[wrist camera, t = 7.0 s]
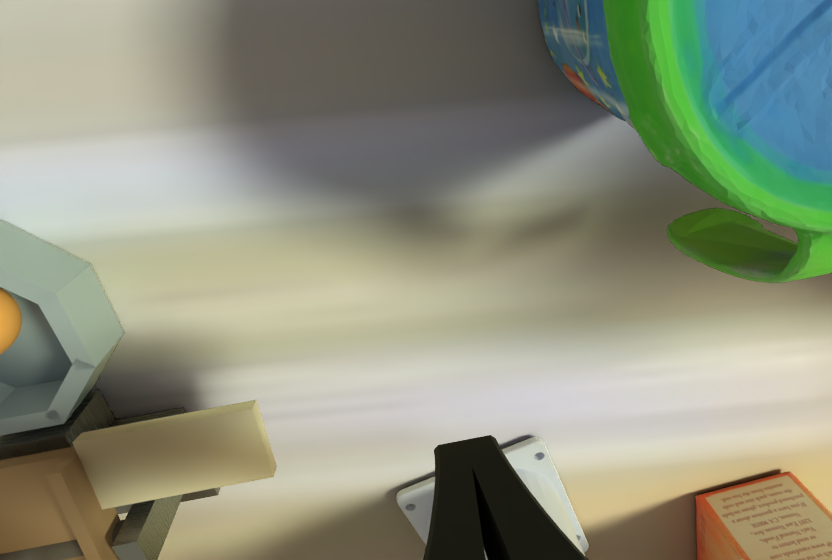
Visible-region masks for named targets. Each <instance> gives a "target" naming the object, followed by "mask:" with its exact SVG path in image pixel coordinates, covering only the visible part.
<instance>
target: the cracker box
mask: <svg viewBox="0 0 832 560" xmlns="http://www.w3.org/2000/svg"><path fill="white" fill-rule="evenodd" d="M695 498H696V534H697V560H832V513H831V512H830V511H829V510H828V509H827V508H826V507H825V506H824V505H823V504H822V503H821V502H820V501H819V500H818V499H817V498H816V497H815V496H814V495H813V494H812V493H811V492H810V491H809V490H808V489H807V488H806V487H805V486H804V485H803V484H802V483H801V482H800V481H799V480H798V479H797V478H796V476H794V475H793V474H792V473H791V472H784V473H781V474H778V475H774V476H769V477H765V478H762V479H758V480H754V481H750V482H746V483H743V484H739V485H735V486H731V487H727V488H723V489H720V490H716V491H712V492H708V493H704V494H701V495H697V496H696V497H695Z"/></svg>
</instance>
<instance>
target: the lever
mask: <svg viewBox="0 0 832 560" xmlns="http://www.w3.org/2000/svg"><path fill="white" fill-rule="evenodd" d="M72 443H73V445H74V447H68V448H63V449H58V450H52V451H47V452H42V453H36V454H31V455H26V456H21V457H15V458H10V459H5V460H0V560H120V559H119V557H118V556H117V554H116V553H115V551H114V550H113V548H112V545H113V543H114V541H115V539H116V537H117V535H118V533H119V531H120V529H121V527H122V525H123V523H124V521H125V520H121V521H120V519H119V516H118V514H117V512H116V509H115V507H118V506H123V505H129V504H134V503H139V502H144V501H150V500H155V499H160V498H165V497H171V496H176V495H181V494H186V493H191V492H197V491H202V490H207V489H212V488H218V487H223V486H228V485H233V484H238V483H244V482H249V481H254V480H259V479H265V478H270V477H274V473H275V470H276V467H277V466H276V463H275V460H274V456H273V453H272V450H271V447H270V443H269V440H268V437H267V433H266V430H265V427H264V424H263V420H262V417H261V414H260V410H259V407H258V404H257V401H256V400H253V401H248V402H243V403H237V404H232V405H227V406H221V407H216V408H211V409H205V410H200V411H195V412H189V413H184V414H179V415H173V416H168V417H163V418H157V419H152V420H147V421H141V422H136V423H131V424H125V425H120V426H115V427H109V428H104V429H99V430H93V431H88V432H83V433H81V434H80V435H79V436H78V437H77V438H76V439H75V440H74V441H73V442H72Z"/></svg>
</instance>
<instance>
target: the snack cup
mask: <svg viewBox="0 0 832 560" xmlns="http://www.w3.org/2000/svg"><path fill="white" fill-rule="evenodd" d="M538 6H539V15H540V22H541V26H542V28H543V32H544V38H545V42H546V45H547V47H548V50H549V51H550V53H551V57H552V59H553V60H554V62H555V63H556V64H557V66H558V67H559V68H560V70H561V71H562V72H563V73H564V75H565V76H566V77H567V78H568V80H570V81H571V82H572V83H573V85H574V86H575V87H576V88H577V89H578V90H580V91H581V92H582V93H583V94H584V95H586V96H587V97H588V98H590V99H591V100H593V101H594V102H596V103H597V104H599V105H600V106H602V107H603V108H605V109H606V110H608V111H609V112H611V113H612V114H614V115H615V116H616V117H618V118H620V119H621V120H624V121H626V122H627V123H628V124H629V125H631V126H632V127H633V128H634V129H635V130H637V132H638V133H639V135H640V137H641V139H642V140H643V142H644V144H645V145H646V147H647V149H648V150H649V151H650V153H651V154H652V155H653V157H654V158H655V159H656V160H657V161H658V162H660V163H661V164H662V165H663V166H666V167H670V168H671V169H673V170H674V171H675V172H677V173H678V174H680V175H681V176H682V177H684V178H685V179H686V180H687V181H688V182H690V183H692V184H693V185H695V186H697V187H698V188H700V189H701V190H703V191H705V192H706V193H708V194H710V195H711V196H713V197H715V198H716V199H718V200H720V201H721V202H723V203H725V204H727V205H730V206H732V207H734V208H736V209H738V210H741V211H743V212H745V213H748V214H750V215H753V216H756V217H758V218H761V219H764V220H767V221H769V222H772V223H775V224H779V225H783V226H788V227H792V228H793V229H794V230H795V231H796V234H797V236H798V243H799V244H797V243H795V242H793V241H790V240H788V239H785V238H783V237H781V236H779V235H776V234H774V233H772V232H769V231H767V230H765V229H764V228H763V226H762V225H760V224H759V223H758V222H757V221H755V220H753V219H752V218H750V217H748V216H747V215H744V214H741V213H738V212H735V211H731V210H726V209H721V208H711V209H705V210H700V211H697V212H693V213H690V214H687V215H684V216H682V217H680V218H678V219H676V220H674V221H673V222H672V223H671V224H669V226H668V228H667V235H668V237H669V239H670V241H671V242H672V243H673V244H674V246H675V247H676V248H677V249H679V250H680V251H681V252H683V253H684V254H685V255H687V256H689V257H691V258H694V259H695V260H697V261H699V262H701V263H704V264H705V265H707V266H709V267H712V268H715V269H717V270H719V271H722V272H724V273H728V274H731V275H734V276H737V277H740V278H744V279H748V280H752V281H758V282H766V283H782V282H787V281H792V280H799V279H807V278H812V277H815V276H819V275H824V274H828V273H832V0H538Z"/></svg>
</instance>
